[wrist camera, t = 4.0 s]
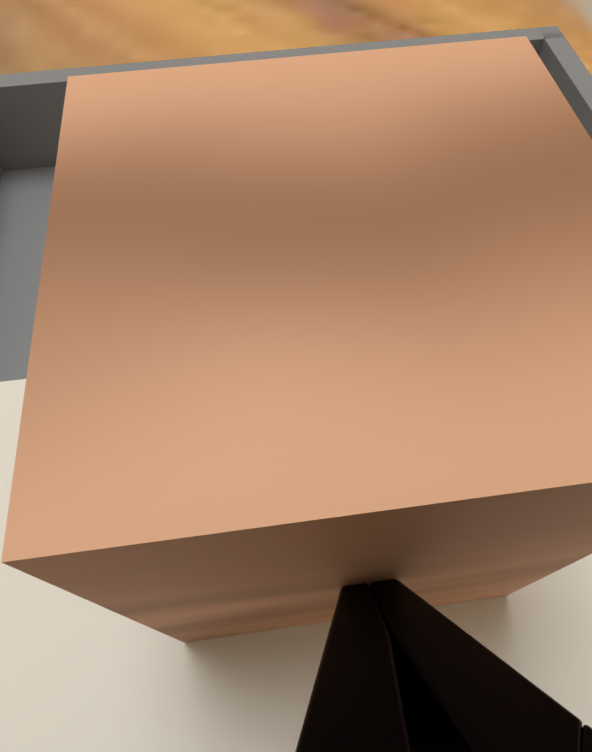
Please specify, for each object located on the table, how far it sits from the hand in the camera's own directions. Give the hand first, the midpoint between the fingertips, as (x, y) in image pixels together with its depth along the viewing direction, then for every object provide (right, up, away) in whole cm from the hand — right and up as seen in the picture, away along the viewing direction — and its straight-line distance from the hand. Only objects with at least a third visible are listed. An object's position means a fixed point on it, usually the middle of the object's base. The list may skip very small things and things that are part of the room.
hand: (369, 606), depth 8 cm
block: (0, +1, +5) cm, 5 cm away
